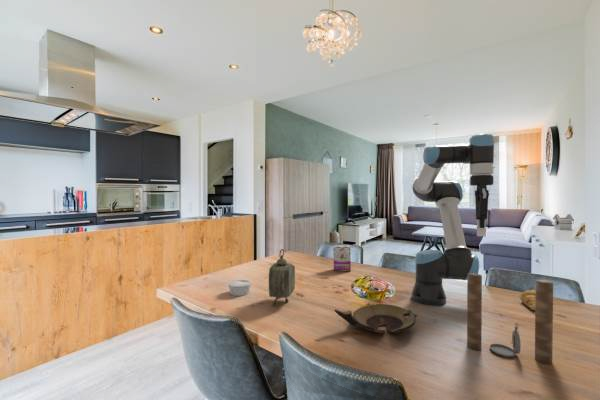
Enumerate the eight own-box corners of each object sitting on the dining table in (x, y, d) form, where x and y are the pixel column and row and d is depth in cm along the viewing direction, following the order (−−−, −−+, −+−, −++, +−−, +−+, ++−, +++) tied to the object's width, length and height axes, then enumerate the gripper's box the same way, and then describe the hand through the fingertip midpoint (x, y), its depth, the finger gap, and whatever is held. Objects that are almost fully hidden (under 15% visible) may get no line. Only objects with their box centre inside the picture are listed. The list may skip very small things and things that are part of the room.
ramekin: (253, 289, 148) (253, 279, 148) (247, 297, 137) (247, 286, 137) (233, 289, 149) (233, 279, 149) (225, 296, 138) (225, 286, 138)
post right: (537, 362, 83) (538, 282, 82) (532, 355, 86) (533, 279, 86) (554, 365, 81) (555, 284, 81) (549, 358, 85) (550, 280, 84)
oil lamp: (422, 347, 91) (423, 324, 91) (332, 335, 99) (332, 314, 99) (413, 318, 113) (413, 299, 113) (340, 310, 121) (340, 293, 121)
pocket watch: (484, 347, 91) (485, 317, 91) (508, 345, 92) (508, 316, 92) (505, 361, 83) (505, 329, 83) (531, 360, 84) (531, 327, 84)
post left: (468, 348, 90) (468, 275, 90) (466, 342, 94) (466, 272, 93) (482, 351, 89) (483, 277, 88) (480, 345, 92) (480, 274, 92)
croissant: (542, 322, 116) (555, 308, 114) (516, 306, 122) (527, 292, 119) (541, 305, 133) (552, 293, 130) (518, 291, 138) (527, 279, 136)
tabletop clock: (277, 295, 138) (277, 246, 138) (295, 297, 136) (295, 246, 136) (268, 307, 124) (268, 252, 124) (288, 309, 122) (288, 252, 122)
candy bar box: (350, 269, 187) (350, 245, 186) (350, 271, 182) (350, 246, 182) (333, 268, 189) (333, 245, 188) (333, 270, 184) (333, 246, 183)
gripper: (497, 173, 99) (496, 239, 99) (489, 175, 111) (489, 234, 111) (473, 174, 102) (472, 237, 102) (467, 176, 114) (467, 233, 114)
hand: (481, 236), depth 107 cm, fingers closed
